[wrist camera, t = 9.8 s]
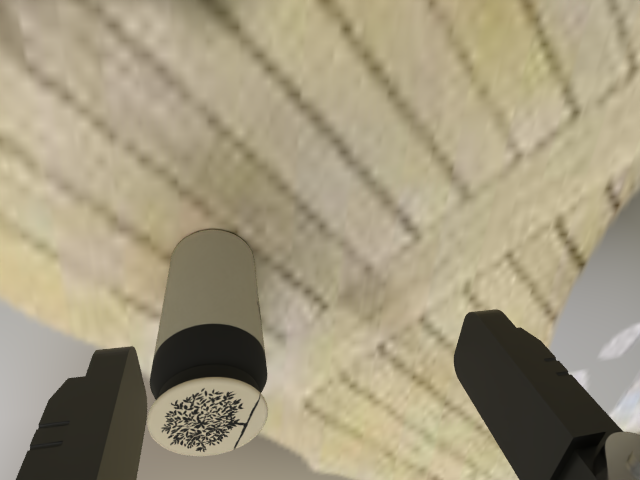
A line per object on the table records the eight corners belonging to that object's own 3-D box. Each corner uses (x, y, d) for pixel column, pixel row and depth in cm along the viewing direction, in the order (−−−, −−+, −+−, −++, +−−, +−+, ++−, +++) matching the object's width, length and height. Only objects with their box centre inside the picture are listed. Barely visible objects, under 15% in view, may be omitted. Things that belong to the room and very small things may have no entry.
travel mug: (158, 279, 42) (123, 450, 27) (190, 215, 39) (172, 366, 24) (232, 303, 45) (238, 466, 30) (267, 245, 42) (293, 394, 27)
